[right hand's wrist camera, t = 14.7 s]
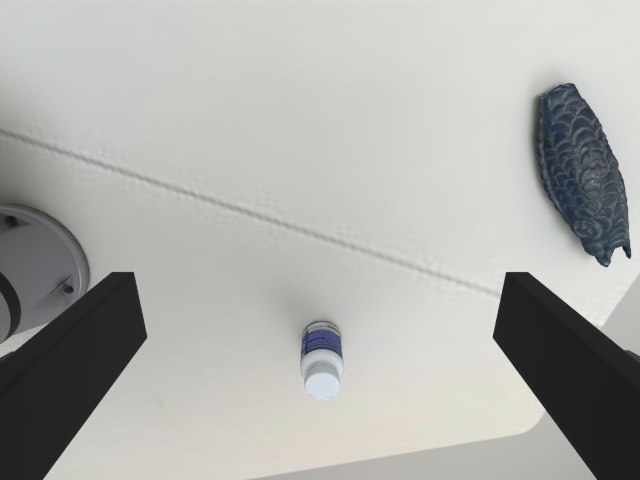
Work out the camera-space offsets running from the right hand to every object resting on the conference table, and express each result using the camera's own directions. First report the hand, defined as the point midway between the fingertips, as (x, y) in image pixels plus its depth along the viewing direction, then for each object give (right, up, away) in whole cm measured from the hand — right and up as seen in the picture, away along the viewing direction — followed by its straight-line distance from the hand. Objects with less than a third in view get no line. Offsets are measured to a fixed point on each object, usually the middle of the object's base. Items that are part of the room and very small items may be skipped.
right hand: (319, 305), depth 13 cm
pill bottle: (0, -11, +35) cm, 37 cm away
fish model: (+29, +10, +28) cm, 41 cm away
